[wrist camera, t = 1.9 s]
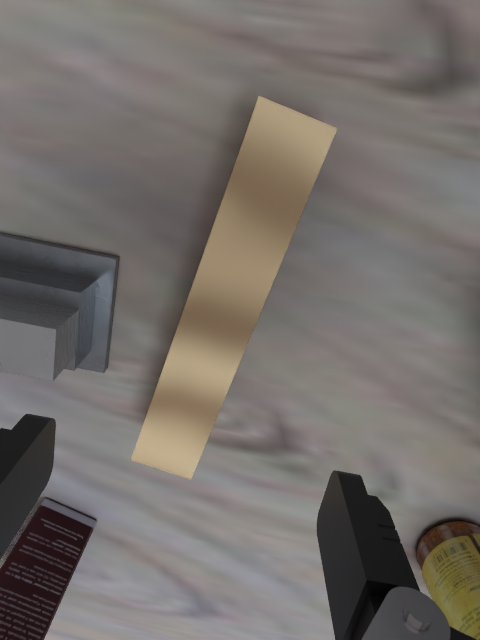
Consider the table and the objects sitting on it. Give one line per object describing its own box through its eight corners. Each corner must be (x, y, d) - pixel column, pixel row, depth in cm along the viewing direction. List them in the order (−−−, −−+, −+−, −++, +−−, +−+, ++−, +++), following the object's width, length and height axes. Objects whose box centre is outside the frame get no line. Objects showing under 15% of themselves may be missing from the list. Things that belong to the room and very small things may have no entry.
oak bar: (257, 106, 25) (259, 95, 21) (322, 133, 26) (337, 128, 21) (148, 416, 33) (130, 460, 28) (199, 433, 33) (190, 479, 28)
